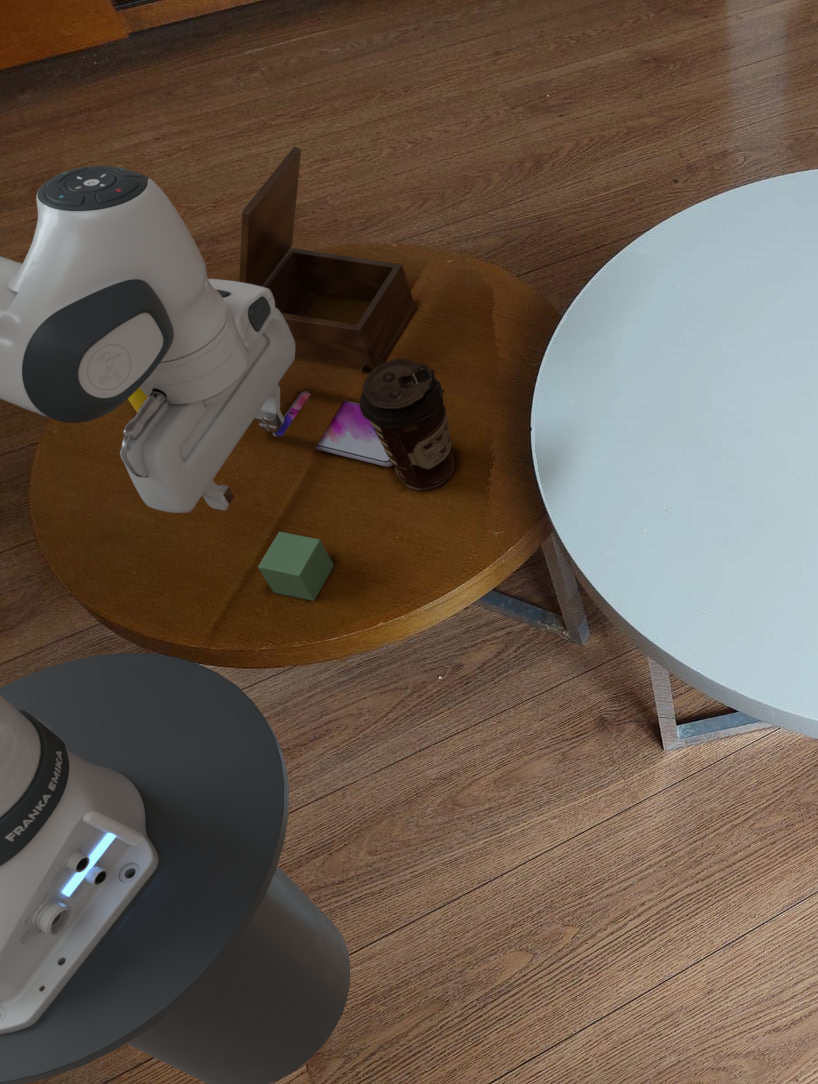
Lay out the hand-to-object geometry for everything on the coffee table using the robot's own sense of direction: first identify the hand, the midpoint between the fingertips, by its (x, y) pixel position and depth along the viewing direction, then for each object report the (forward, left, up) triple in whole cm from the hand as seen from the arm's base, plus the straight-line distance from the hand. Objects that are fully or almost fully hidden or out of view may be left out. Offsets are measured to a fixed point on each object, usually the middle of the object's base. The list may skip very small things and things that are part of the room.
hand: (249, 463), depth 100 cm
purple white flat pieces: (+18, +4, -16) cm, 24 cm away
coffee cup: (+15, -7, -16) cm, 23 cm away
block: (-2, -1, -16) cm, 16 cm away
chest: (+33, +12, -16) cm, 38 cm away
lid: (+33, +16, -2) cm, 36 cm away
